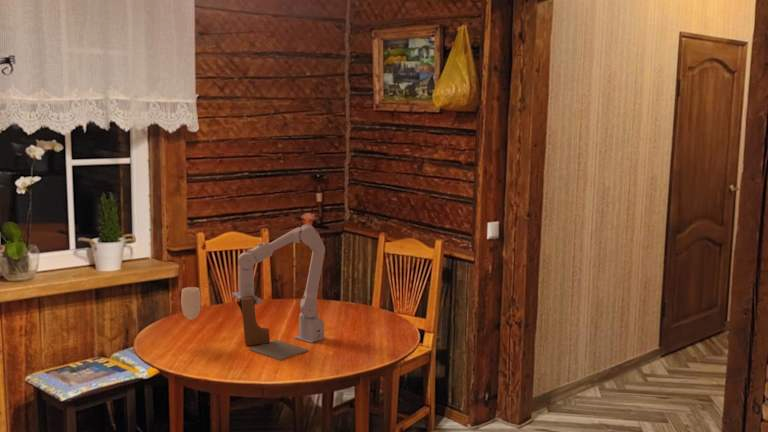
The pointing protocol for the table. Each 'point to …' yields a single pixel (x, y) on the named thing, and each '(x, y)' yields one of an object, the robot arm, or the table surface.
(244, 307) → the wooden block
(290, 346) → the mat
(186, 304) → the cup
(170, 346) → the table surface
